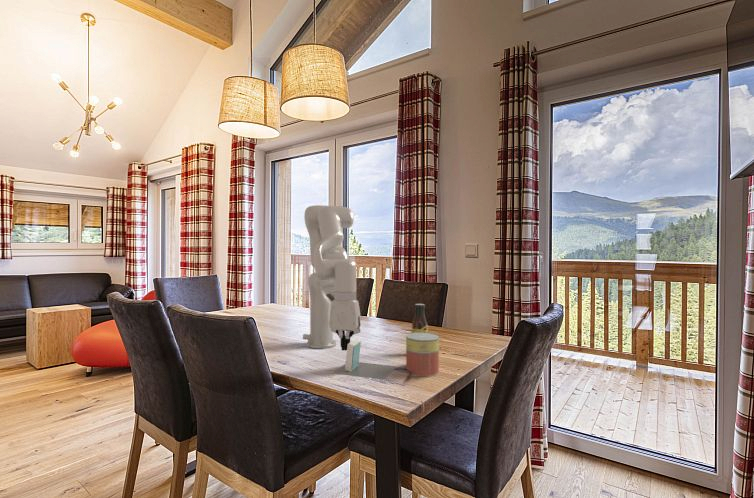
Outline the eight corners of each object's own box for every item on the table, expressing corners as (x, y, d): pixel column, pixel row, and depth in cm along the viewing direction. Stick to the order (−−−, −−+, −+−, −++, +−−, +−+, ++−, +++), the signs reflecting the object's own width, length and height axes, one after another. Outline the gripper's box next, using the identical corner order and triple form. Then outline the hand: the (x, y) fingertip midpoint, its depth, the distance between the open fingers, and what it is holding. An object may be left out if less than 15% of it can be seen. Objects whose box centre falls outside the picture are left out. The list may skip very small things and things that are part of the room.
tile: (345, 370, 128) (347, 343, 128) (352, 364, 135) (355, 339, 135) (351, 371, 128) (353, 345, 127) (358, 365, 134) (361, 340, 134)
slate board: (332, 376, 126) (332, 373, 126) (348, 363, 139) (348, 361, 139) (384, 382, 120) (384, 379, 120) (396, 368, 134) (396, 366, 134)
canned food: (417, 363, 140) (417, 331, 140) (445, 370, 132) (445, 335, 132) (399, 371, 131) (399, 336, 131) (427, 379, 124) (427, 342, 124)
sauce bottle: (427, 357, 147) (427, 305, 147) (410, 356, 149) (411, 305, 149) (428, 352, 154) (428, 303, 154) (412, 351, 155) (412, 302, 155)
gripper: (320, 296, 131) (320, 350, 131) (361, 298, 126) (361, 354, 126) (330, 294, 138) (330, 345, 138) (369, 296, 133) (369, 348, 133)
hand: (345, 349), depth 132 cm, fingers closed
